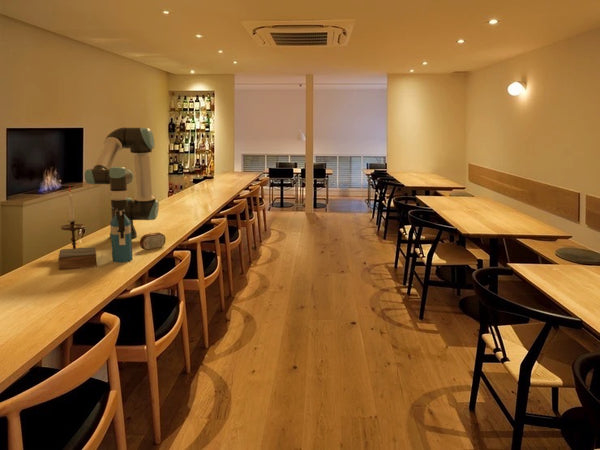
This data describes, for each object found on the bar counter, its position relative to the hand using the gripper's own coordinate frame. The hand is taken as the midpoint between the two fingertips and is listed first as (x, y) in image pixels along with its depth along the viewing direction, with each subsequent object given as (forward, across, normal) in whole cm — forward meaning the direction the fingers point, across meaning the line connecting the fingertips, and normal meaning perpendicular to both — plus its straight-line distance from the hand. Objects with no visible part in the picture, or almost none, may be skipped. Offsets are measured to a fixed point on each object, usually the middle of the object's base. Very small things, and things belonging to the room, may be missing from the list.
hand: (121, 241), depth 240 cm
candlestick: (+10, -22, -22) cm, 33 cm away
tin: (+10, -19, +17) cm, 27 cm away
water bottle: (+10, 0, 0) cm, 10 cm away
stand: (+10, 0, -20) cm, 22 cm away
